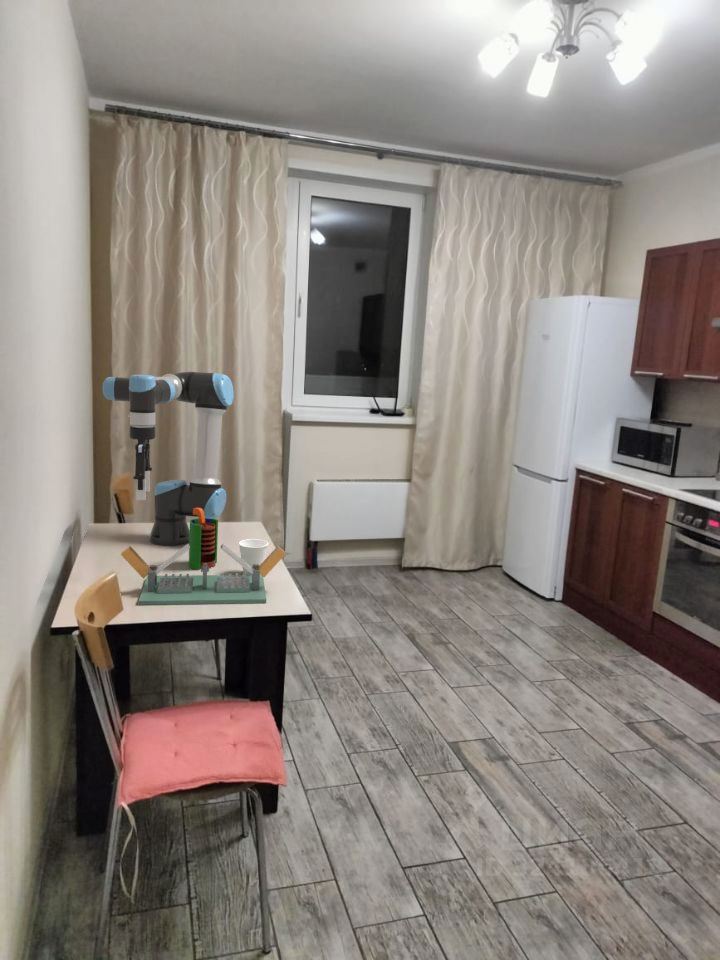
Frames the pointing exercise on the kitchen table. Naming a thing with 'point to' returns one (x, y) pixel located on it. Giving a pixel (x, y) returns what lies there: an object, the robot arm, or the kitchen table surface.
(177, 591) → the set of grey blocks
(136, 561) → the strap
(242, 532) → the kitchen table surface
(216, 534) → the motor
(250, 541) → the cup
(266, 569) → the strap
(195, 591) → the board
